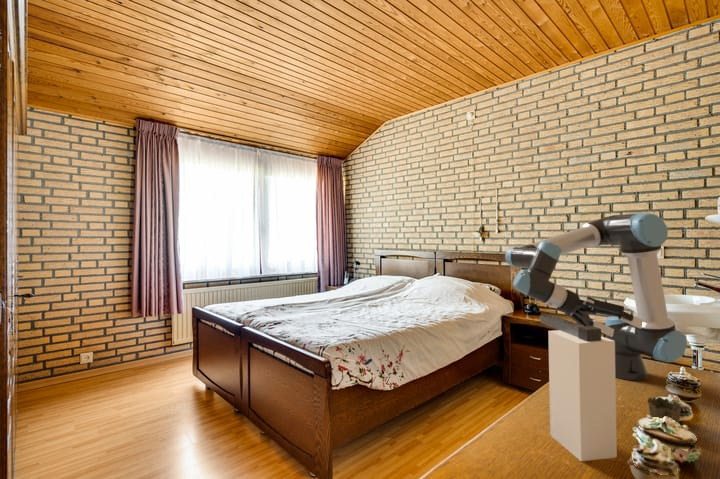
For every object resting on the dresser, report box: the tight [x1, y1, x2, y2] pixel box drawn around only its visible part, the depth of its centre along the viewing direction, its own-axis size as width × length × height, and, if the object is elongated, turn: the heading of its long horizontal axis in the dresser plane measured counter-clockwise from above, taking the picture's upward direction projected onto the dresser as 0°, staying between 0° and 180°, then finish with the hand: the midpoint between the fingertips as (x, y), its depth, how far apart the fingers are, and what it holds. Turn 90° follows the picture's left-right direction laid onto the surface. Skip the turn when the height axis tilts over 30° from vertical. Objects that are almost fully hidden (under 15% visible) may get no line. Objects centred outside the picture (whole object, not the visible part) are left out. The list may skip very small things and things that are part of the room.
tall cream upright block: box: [547, 329, 618, 462], centre depth 98 cm, size 10×12×30 cm
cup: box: [647, 396, 682, 424], centre depth 104 cm, size 8×7×8 cm
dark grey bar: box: [539, 313, 602, 341], centre depth 102 cm, size 4×20×3 cm, turn 7°
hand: (626, 329), depth 116 cm, fingers open, 13 cm apart
